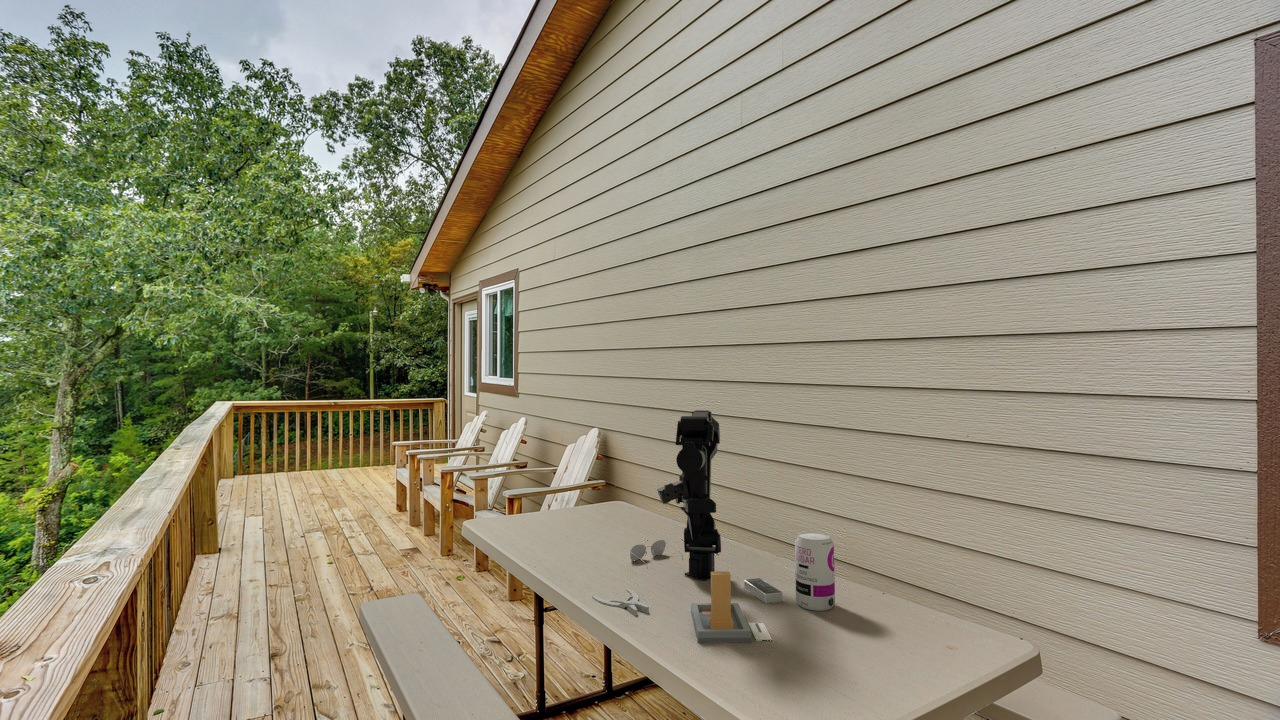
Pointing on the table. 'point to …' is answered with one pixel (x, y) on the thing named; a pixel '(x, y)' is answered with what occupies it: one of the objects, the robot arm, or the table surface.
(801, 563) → the supplement can
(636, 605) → the pliers
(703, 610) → the switch housing
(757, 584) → the multiport hub
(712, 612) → the orange tall block
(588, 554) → the table surface
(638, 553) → the sunglasses
